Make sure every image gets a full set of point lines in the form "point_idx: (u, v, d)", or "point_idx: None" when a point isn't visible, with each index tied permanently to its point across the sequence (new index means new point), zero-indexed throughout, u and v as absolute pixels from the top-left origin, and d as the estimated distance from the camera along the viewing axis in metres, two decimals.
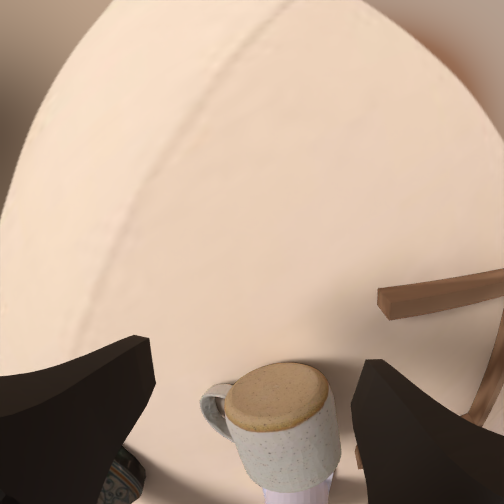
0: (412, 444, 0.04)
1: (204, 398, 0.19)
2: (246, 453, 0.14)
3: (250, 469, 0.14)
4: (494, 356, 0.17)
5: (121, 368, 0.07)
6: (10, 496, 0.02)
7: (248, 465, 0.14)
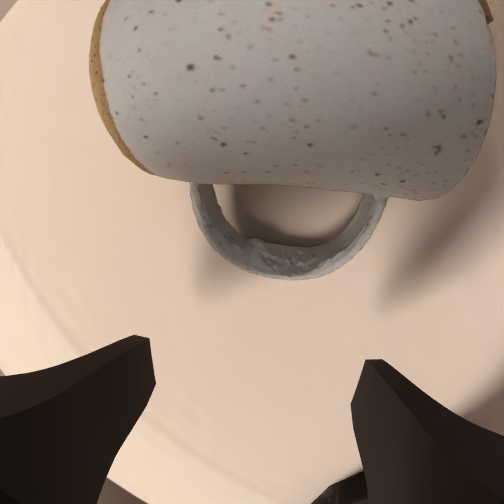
0: (412, 444, 0.04)
1: (227, 252, 0.09)
2: (232, 89, 0.04)
3: (375, 114, 0.04)
4: None
5: (121, 368, 0.07)
6: (10, 496, 0.02)
7: (346, 113, 0.04)
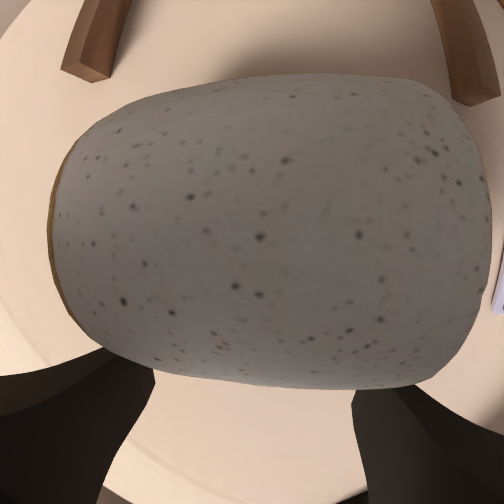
0: (413, 444, 0.04)
1: None
2: (196, 372, 0.05)
3: (316, 387, 0.05)
4: None
5: (121, 368, 0.07)
6: (9, 495, 0.02)
7: (291, 386, 0.05)
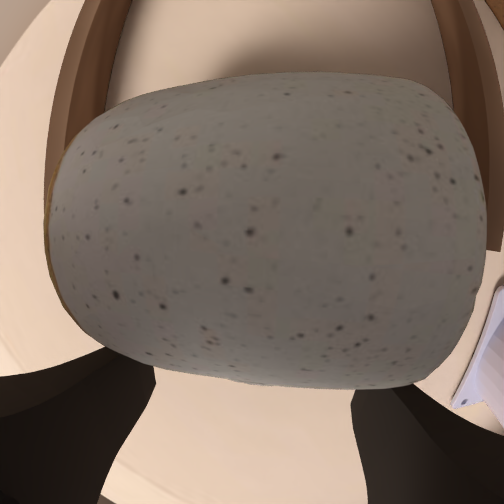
0: (412, 444, 0.04)
1: None
2: (187, 367, 0.05)
3: (307, 386, 0.05)
4: None
5: (121, 368, 0.07)
6: (10, 496, 0.02)
7: (282, 384, 0.05)
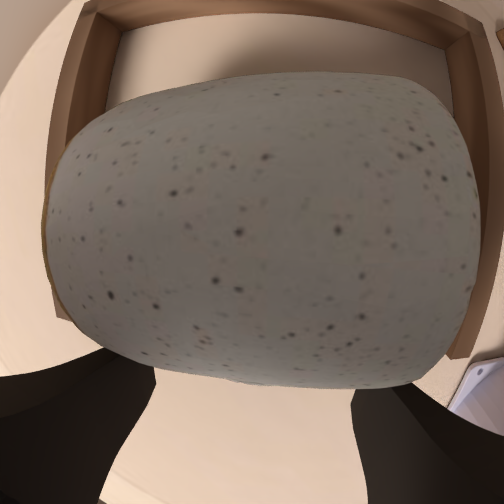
0: (412, 444, 0.04)
1: None
2: (182, 367, 0.05)
3: (302, 385, 0.05)
4: (275, 7, 0.08)
5: (122, 368, 0.07)
6: (10, 496, 0.02)
7: (277, 383, 0.05)
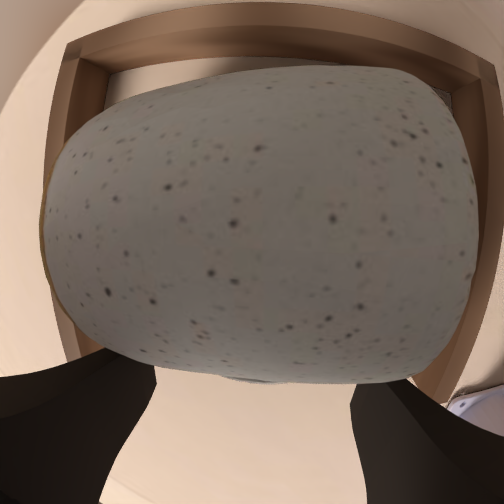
0: (411, 444, 0.04)
1: None
2: (182, 364, 0.05)
3: (302, 380, 0.05)
4: (271, 51, 0.09)
5: (122, 368, 0.07)
6: (11, 497, 0.02)
7: (277, 379, 0.05)
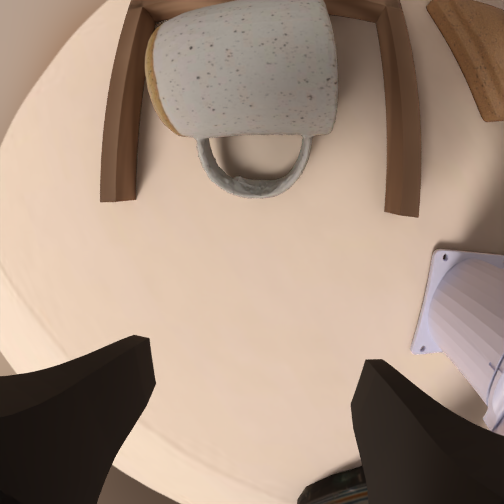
0: (412, 444, 0.04)
1: (220, 183, 0.15)
2: (215, 85, 0.09)
3: (274, 87, 0.09)
4: None
5: (121, 368, 0.07)
6: (10, 496, 0.02)
7: (262, 89, 0.09)
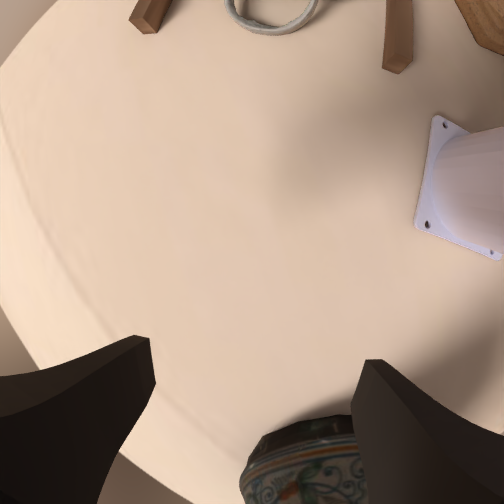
0: (412, 444, 0.04)
1: (236, 17, 0.12)
2: None
3: None
4: None
5: (121, 368, 0.07)
6: (10, 496, 0.02)
7: None
